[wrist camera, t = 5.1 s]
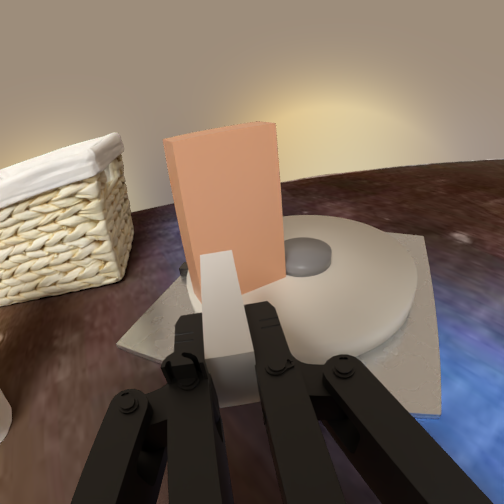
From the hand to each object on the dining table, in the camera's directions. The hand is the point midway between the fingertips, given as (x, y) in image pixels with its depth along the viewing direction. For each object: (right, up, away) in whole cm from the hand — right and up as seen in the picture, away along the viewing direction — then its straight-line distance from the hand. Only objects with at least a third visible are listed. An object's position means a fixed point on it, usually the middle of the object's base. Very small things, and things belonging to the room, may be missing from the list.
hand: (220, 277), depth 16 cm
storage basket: (-24, -1, +22) cm, 32 cm away
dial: (+6, -2, +14) cm, 15 cm away
